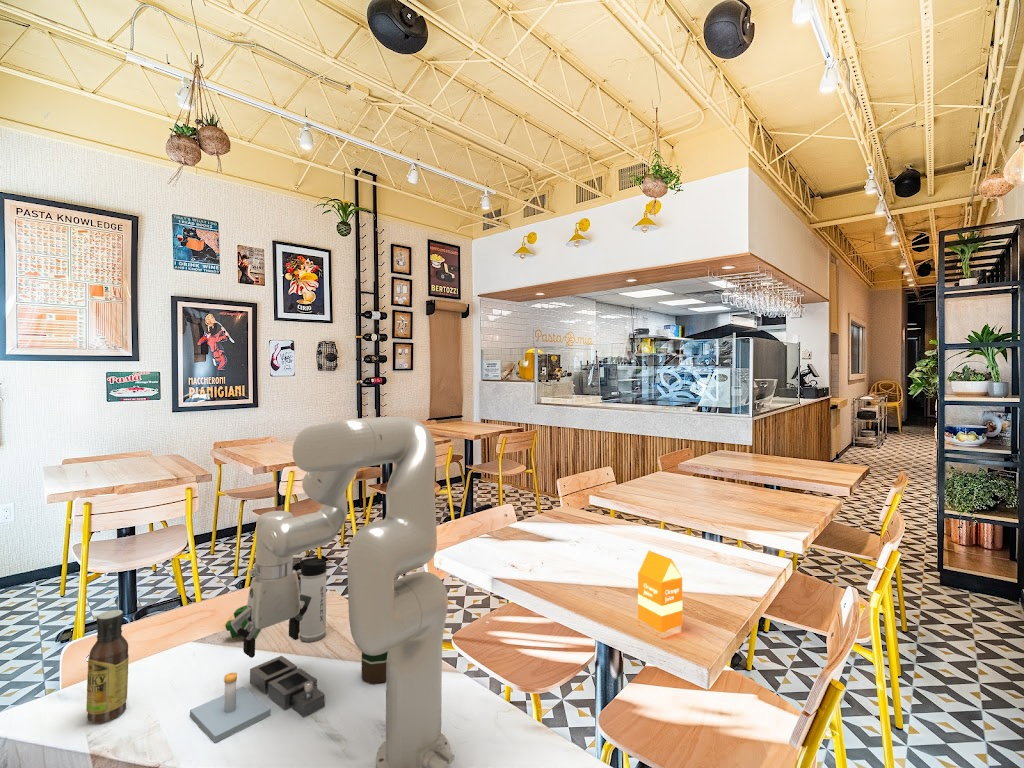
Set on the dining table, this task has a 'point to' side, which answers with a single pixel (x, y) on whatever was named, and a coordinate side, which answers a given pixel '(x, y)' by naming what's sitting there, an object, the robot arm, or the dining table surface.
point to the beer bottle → (374, 668)
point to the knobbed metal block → (308, 700)
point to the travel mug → (313, 599)
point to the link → (288, 687)
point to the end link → (270, 672)
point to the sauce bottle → (107, 670)
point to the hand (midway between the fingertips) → (272, 646)
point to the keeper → (229, 711)
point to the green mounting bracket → (244, 623)
